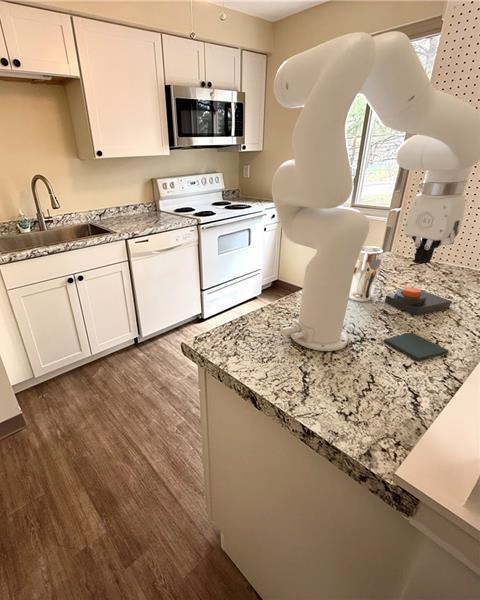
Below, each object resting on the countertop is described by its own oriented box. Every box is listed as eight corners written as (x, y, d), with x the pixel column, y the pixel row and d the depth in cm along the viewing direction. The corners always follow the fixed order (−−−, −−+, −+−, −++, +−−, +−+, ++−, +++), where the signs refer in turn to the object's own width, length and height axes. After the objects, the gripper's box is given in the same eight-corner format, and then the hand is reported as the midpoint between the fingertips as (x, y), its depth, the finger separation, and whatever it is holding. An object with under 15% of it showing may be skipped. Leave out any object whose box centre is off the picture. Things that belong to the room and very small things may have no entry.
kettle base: (413, 316, 81) (417, 302, 80) (382, 302, 89) (385, 290, 88) (449, 308, 83) (454, 294, 82) (415, 295, 91) (419, 283, 90)
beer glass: (364, 291, 97) (375, 245, 90) (377, 301, 90) (389, 252, 84) (340, 293, 97) (349, 246, 91) (351, 302, 91) (362, 253, 85)
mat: (417, 361, 66) (418, 358, 65) (383, 342, 73) (384, 339, 73) (447, 353, 67) (449, 350, 67) (411, 335, 74) (412, 332, 74)
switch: (411, 299, 83) (413, 293, 82) (398, 294, 86) (400, 288, 85) (422, 296, 83) (424, 290, 82) (409, 291, 86) (411, 286, 86)
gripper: (398, 188, 79) (383, 257, 87) (466, 194, 66) (440, 274, 73) (423, 184, 80) (405, 252, 88) (494, 189, 67) (465, 268, 75)
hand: (421, 262), depth 81 cm, fingers closed
